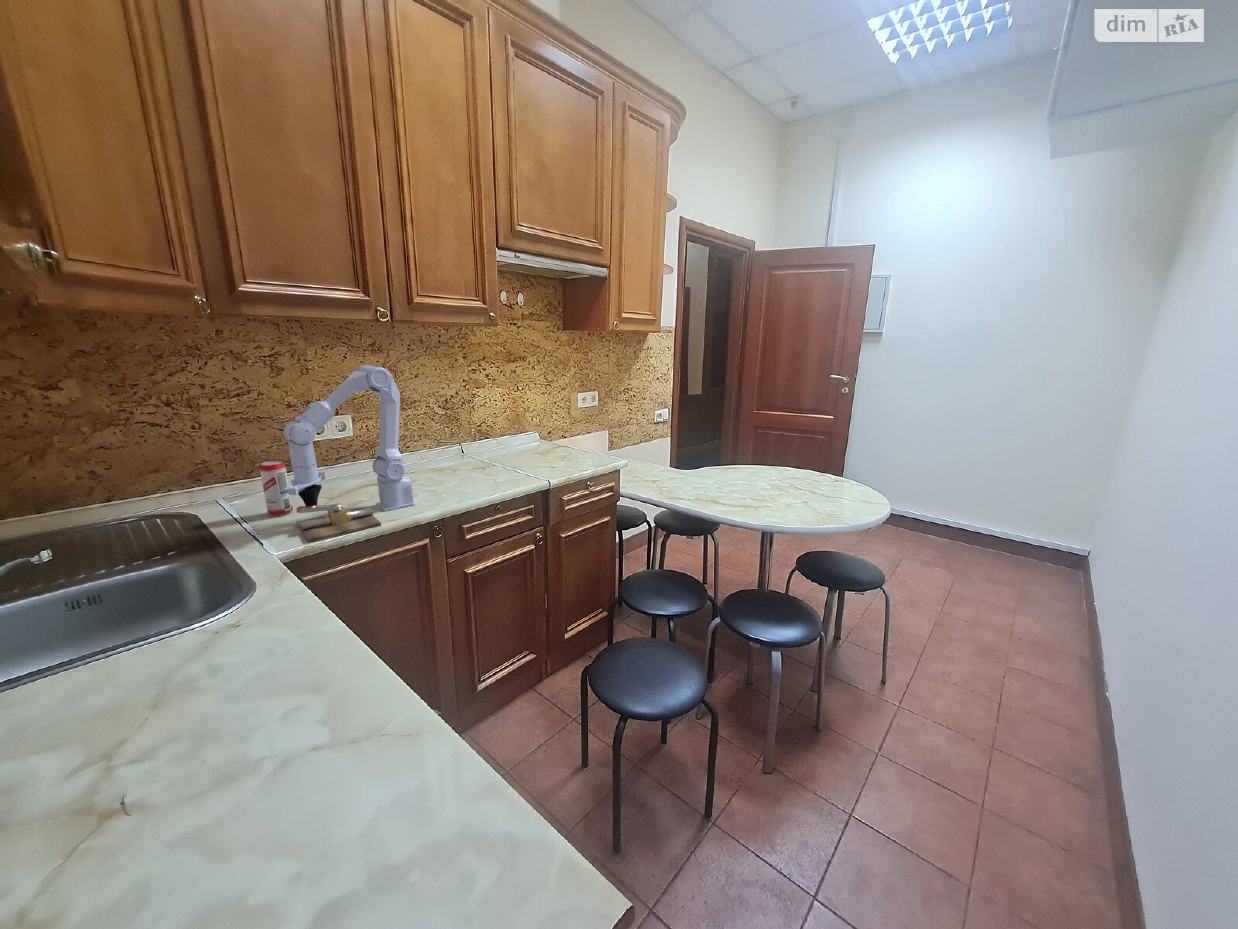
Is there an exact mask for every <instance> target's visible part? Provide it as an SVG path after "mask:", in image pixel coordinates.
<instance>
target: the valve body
mask: <svg viewBox="0 0 1238 929" xmlns="http://www.w3.org/2000/svg"><path fill="white" fill-rule="evenodd" d="M363 508H364V507H363ZM358 509H359V508H358ZM350 510H351V509H349V510H346V509H345V507H343V506H342V509H341V510H337V511H327V514H324V515H323V516H324V517H321V518H316V517H315V518H316V519H312V520H307V521H302V522H300V526H301V529H302V530H306V529H311V528H315V527H320V526H324V525H326V526H329V525H332V526H335V525H339V524H344V523H348V521H352V519H356V518H361V517H365V516H370V515H373V516H374V510H373V507H372V506H370V507H365V508H364V509H359V510H355V511H350Z"/></svg>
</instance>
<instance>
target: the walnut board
mask: <svg viewBox="0 0 1238 929" xmlns="http://www.w3.org/2000/svg"><path fill="white" fill-rule="evenodd" d="M364 508H366V507H365V506H364V507H361V508H360V507H359V508H354V509H349V510H350V511H355V510H359V509H364ZM321 517H324V515H321V516H316V517H312V518H307V519H301V520H297V521H296V526H297V527H298V529H299V531H300V532H301V534H302V535H303V537H304V539H305V540H306V541H307V543H308V544H311V543H316V542H318V541H324V540H327V539H333V538H337V537H339V536H345V535H349V534H352V533H353V534H354V533H356V532H361V531H365V530H370V529H374V528H378V527H382V522H381V521H380V520H379V519H378V518H377V517H375V515H374V514H373V515H370V516H365V517H361V518H356V519H352V521H348V523H344V524H339V525H335V526H332V525H329V526H326V525H324V526H320V527H315V528H311V529H306V530H302V529H301V526H300V522H302V521H307V520H312V519H316V518H321Z"/></svg>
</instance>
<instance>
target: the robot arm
mask: <svg viewBox="0 0 1238 929" xmlns="http://www.w3.org/2000/svg"><path fill="white" fill-rule="evenodd" d="M369 390H371V391H373V392H374V394H376V395H377V396H378V397H379V398H380V403H379V404H380V409H379V410H380V411H379V412H380V413H379V414H380V415H379V447H378V450H377V451H376V452H375V458H374V460H373V462H372V471H373V472H374V473H375V474H376V475H377V476H376V477H377V478H376V480H377V487H378V490H377V491H378V496H379V502H376V503H375V505H376V506H377V507H378V508H380V509H381V510H382V511H383V512H386V511H391V510H395V509H396V510H397V509H401V508H405V507H409V506H413V505H415V502H414V501H415V500H414V494H413V493H414V492H413V485H412V484H413V483H412V482H411V478H410V477H409V476H405V472H406V468H405V465H404V463H403V456H402V454H401V452H400V451H399V437H400V407H401V406H400V404H401V402H400V401H401V392H400V391H399V389H398V386H397V385H396V382H395V381H394V376H393V374H392V373H391V372H390V371H389V370H387V369H386V368H384V367H381V366H374V365H368V364H364V365H360V366H359V367H358V368H357V370H354V371H352V373H350V375H349V376H348V377H347V378H346V379H345V380H344V381H342V383H341V384H340V385H339V386H338V387H337V388H336V389H335V390H334V391H333V392H332V393H330V394H329V396H328V397H327V398H326V399H325V400H324V401H320V400H317V401H315V402H310V403H309V404H308V408H307V409H306V410H305V411H304V412H303V413H301V415H299V416H298V415H297V416H296V417H295V418H294V420H295V421H290V422H288V423H287V424H286V425H285V427H284V430H283V432H282V434H283V437H284V438H285V439H286V440H287V442H288V447H289V450H288V451H289V455H290V464H291V467H292V474H293V479H292V480H290V483H291V485H290V486H289V488H288V493H289V495H291V496H297V495H298V496H299V497H300V499H301V500H302V501H303V503H304V506H314V505H318V499H319V495H320V492H321V490H322V488H323V487H322V485H321V484H318V483H320V482H321V481H323V480H326V474H325V472H319V470H318V465H317V459H316V452H315V448H314V447H315V446H314V441H315V438H316V434H317V432H319V430H321V429H322V428H323V427H324V426H325V425H326V424H327V423H329V422H330V421H331V420H332V419H333V418H334V417H335V415H336V414H335V409H337V408H338V407H340V406H341V405H342V404H343V403H344V402H347V400H348V399H349V398H350V397H351V396H353V395H354V394H356V393H357V392H361V391H369Z"/></svg>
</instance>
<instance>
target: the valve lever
mask: <svg viewBox="0 0 1238 929" xmlns="http://www.w3.org/2000/svg"><path fill="white" fill-rule="evenodd" d="M342 507H343V506H342V503H330V504H319V505H318V504H317V505H314V506H305V505H302V506H298V507H297V508H296V509H295V510H296V512H297V513H298V514H303V513H305V514H306V513H315V512H316V513H317V512H328V511H337V510H341V509H342Z"/></svg>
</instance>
